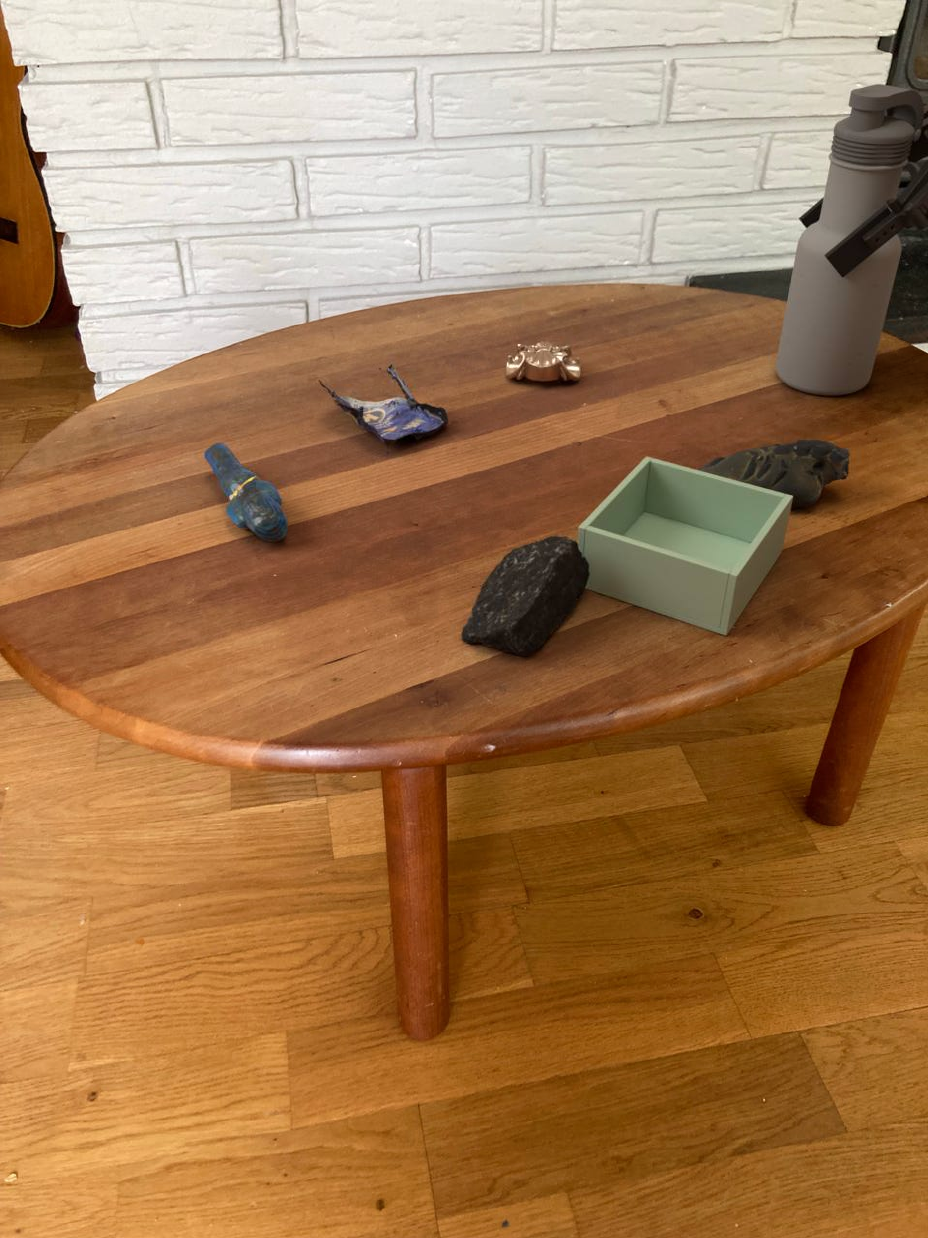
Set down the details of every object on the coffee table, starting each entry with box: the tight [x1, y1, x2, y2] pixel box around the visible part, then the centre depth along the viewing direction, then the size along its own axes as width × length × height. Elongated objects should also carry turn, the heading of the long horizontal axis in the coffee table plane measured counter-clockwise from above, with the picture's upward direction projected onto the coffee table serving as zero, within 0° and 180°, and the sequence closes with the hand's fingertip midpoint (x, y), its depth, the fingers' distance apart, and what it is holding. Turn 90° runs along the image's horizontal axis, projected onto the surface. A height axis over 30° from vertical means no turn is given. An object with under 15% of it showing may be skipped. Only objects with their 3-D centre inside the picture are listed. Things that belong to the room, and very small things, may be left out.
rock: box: [461, 535, 590, 657], centre depth 78 cm, size 7×10×6 cm
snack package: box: [318, 363, 449, 454], centre depth 102 cm, size 12×6×12 cm
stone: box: [698, 439, 851, 509], centre depth 91 cm, size 7×13×5 cm, turn 85°
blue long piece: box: [203, 442, 289, 543], centre depth 91 cm, size 5×4×15 cm
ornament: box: [505, 340, 581, 382], centre depth 111 cm, size 8×7×4 cm
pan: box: [577, 456, 793, 637], centre depth 82 cm, size 13×13×6 cm
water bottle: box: [775, 83, 925, 397], centre depth 102 cm, size 10×10×28 cm
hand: (819, 246), depth 103 cm, fingers closed on water bottle, 10 cm apart
